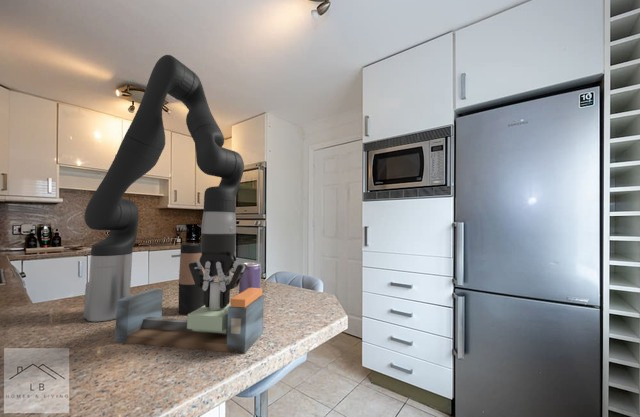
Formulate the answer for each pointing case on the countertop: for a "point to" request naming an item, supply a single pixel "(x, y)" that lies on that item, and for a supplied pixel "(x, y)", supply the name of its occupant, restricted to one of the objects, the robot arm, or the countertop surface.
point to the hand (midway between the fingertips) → (216, 306)
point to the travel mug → (189, 280)
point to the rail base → (184, 325)
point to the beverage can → (250, 277)
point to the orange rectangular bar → (246, 297)
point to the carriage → (210, 314)
